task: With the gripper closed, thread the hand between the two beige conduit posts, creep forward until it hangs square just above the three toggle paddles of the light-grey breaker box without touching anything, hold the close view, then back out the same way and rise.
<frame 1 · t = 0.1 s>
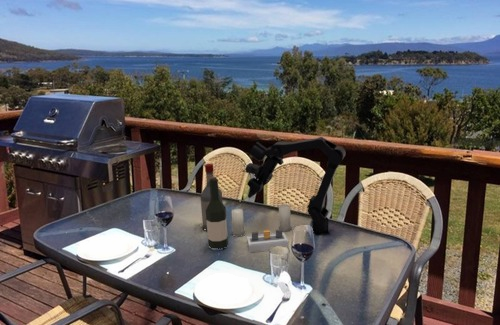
hand: (252, 193, 193), 15 cm above the table, tool tilted 30°, fingers open, 9 cm apart
post 1: (238, 234, 187), on the table
wine bottle: (218, 246, 176), on the table
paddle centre: (266, 234, 173), point 5 cm above the table, hinge at 0.0°
liquor: (213, 227, 195), on the table
paddle 1: (254, 235, 173), point 5 cm above the table, hinge at 0.0°
breaker box: (267, 245, 175), on the table
post 2: (285, 229, 189), on the table
paddle 2: (278, 233, 174), point 5 cm above the table, hinge at 0.0°
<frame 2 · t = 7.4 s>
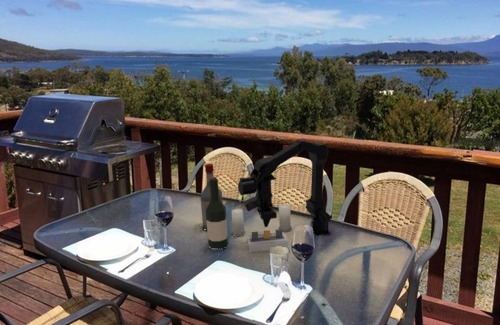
hand: (265, 226, 175), 8 cm above the table, tool pointing down, fingers closed
nothing on the table moved.
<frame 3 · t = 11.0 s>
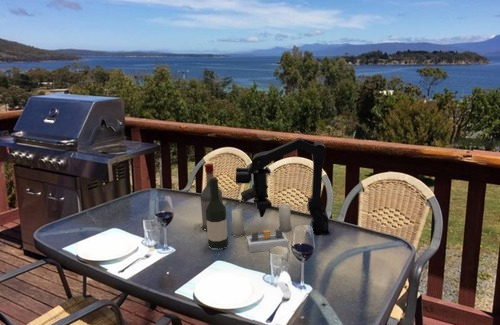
hand: (261, 216, 185), 8 cm above the table, tool pointing down, fingers closed
nothing on the table moved.
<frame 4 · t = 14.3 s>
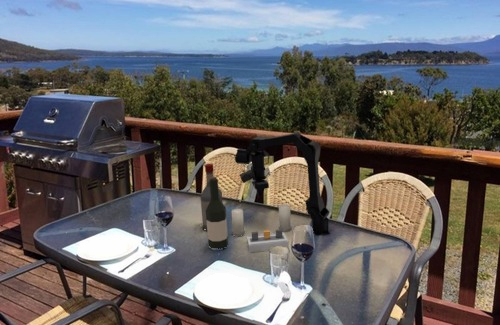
hand: (259, 197, 195), 12 cm above the table, tool pointing down, fingers closed
nothing on the table moved.
at the end: paddle 2 at +0° (first picture: +0°); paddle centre at +0° (first picture: +0°); paddle 1 at +0° (first picture: +0°) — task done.
